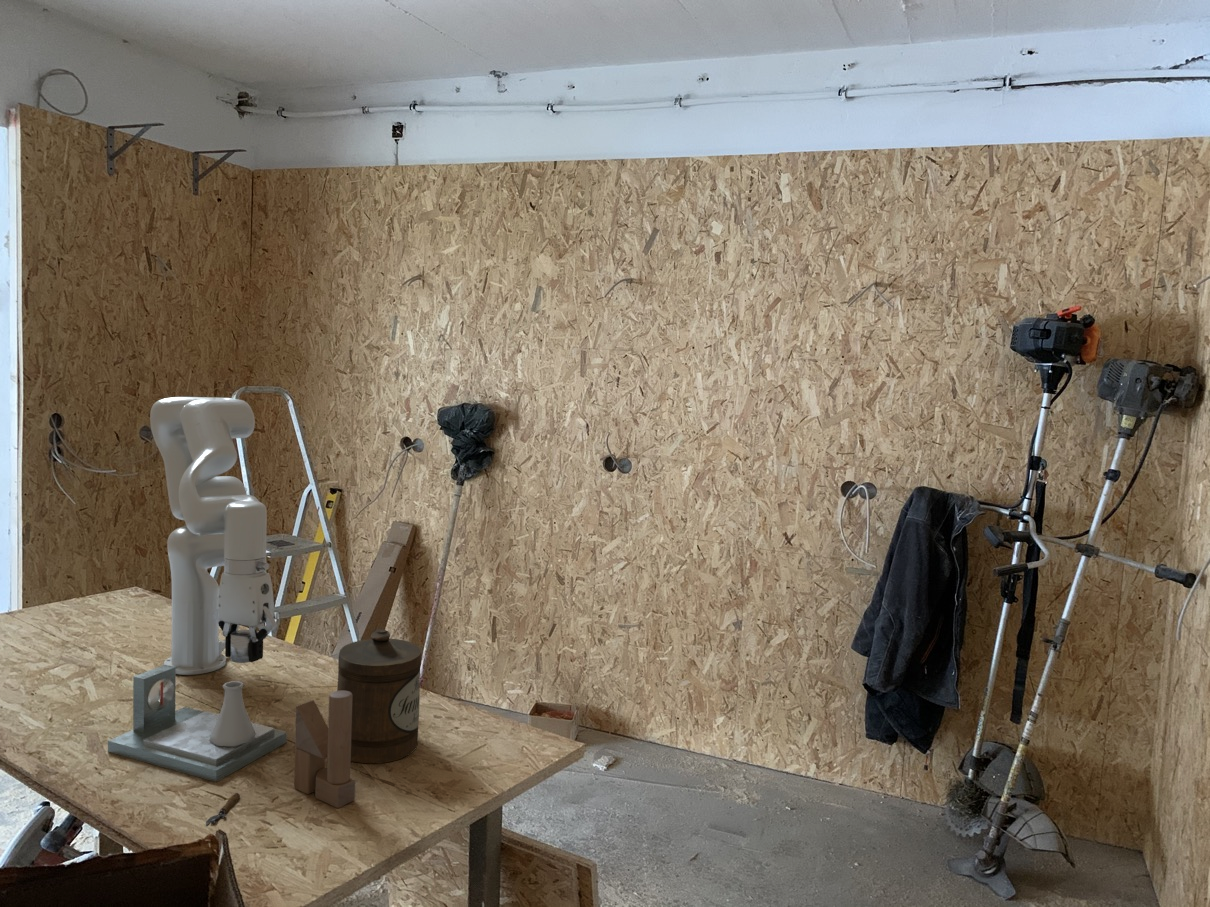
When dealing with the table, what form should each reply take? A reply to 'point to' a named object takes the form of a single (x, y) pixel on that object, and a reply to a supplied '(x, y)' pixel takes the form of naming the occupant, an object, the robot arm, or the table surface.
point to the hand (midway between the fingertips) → (244, 656)
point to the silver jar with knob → (240, 646)
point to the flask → (232, 719)
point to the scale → (183, 733)
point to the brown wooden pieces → (325, 750)
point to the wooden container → (381, 696)
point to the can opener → (224, 809)
